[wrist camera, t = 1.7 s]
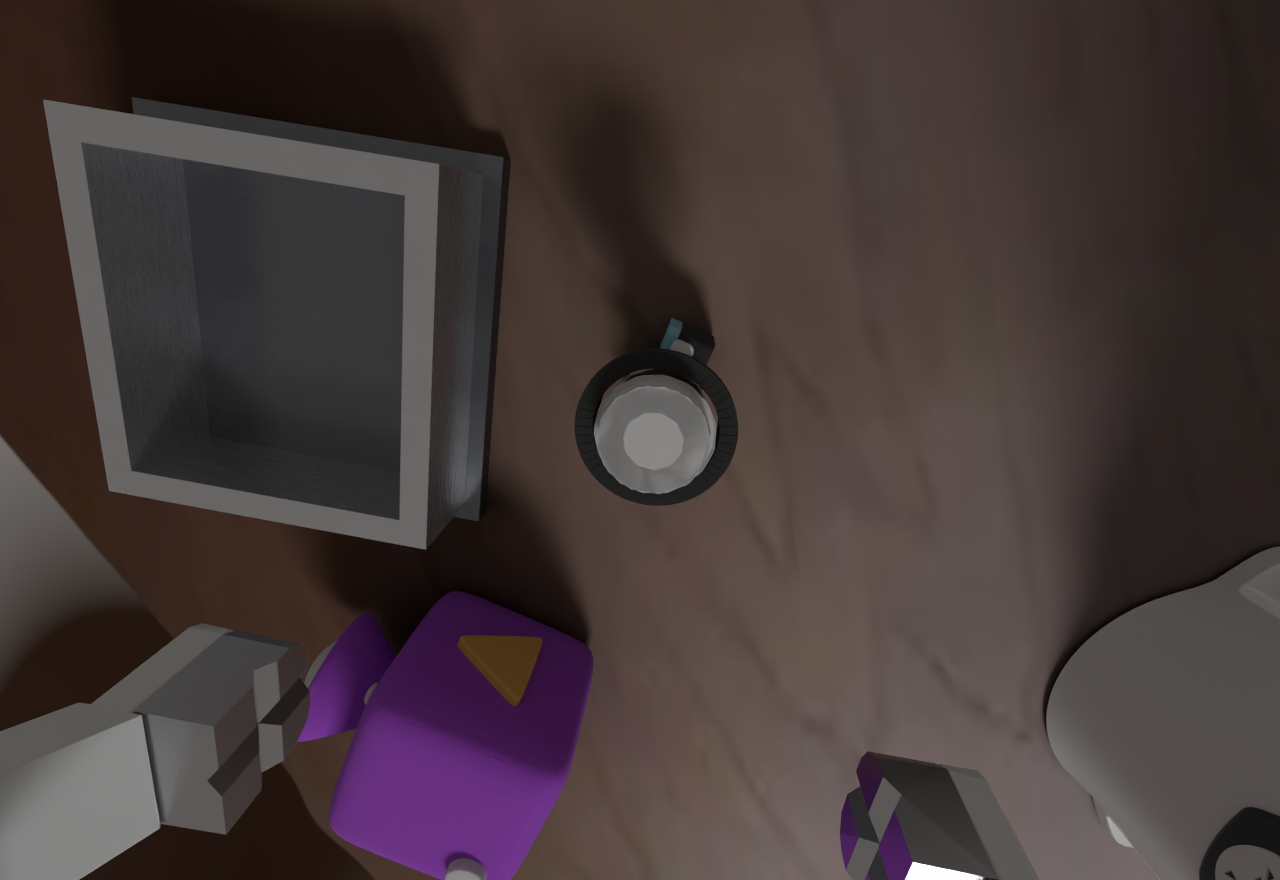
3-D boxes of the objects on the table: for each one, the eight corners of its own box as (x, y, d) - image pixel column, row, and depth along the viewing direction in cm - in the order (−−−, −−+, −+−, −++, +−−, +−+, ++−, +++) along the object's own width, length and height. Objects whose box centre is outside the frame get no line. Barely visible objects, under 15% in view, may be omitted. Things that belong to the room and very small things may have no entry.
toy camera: (367, 549, 33) (235, 677, 23) (608, 610, 33) (572, 763, 23) (355, 699, 37) (237, 862, 27) (572, 754, 36) (528, 936, 27)
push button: (684, 464, 29) (677, 575, 20) (584, 420, 29) (530, 512, 20) (746, 342, 27) (771, 401, 18) (638, 293, 27) (606, 327, 18)
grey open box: (510, 159, 26) (462, 142, 20) (485, 512, 31) (443, 568, 26) (152, 101, 26) (17, 70, 21) (192, 459, 32) (94, 503, 27)
